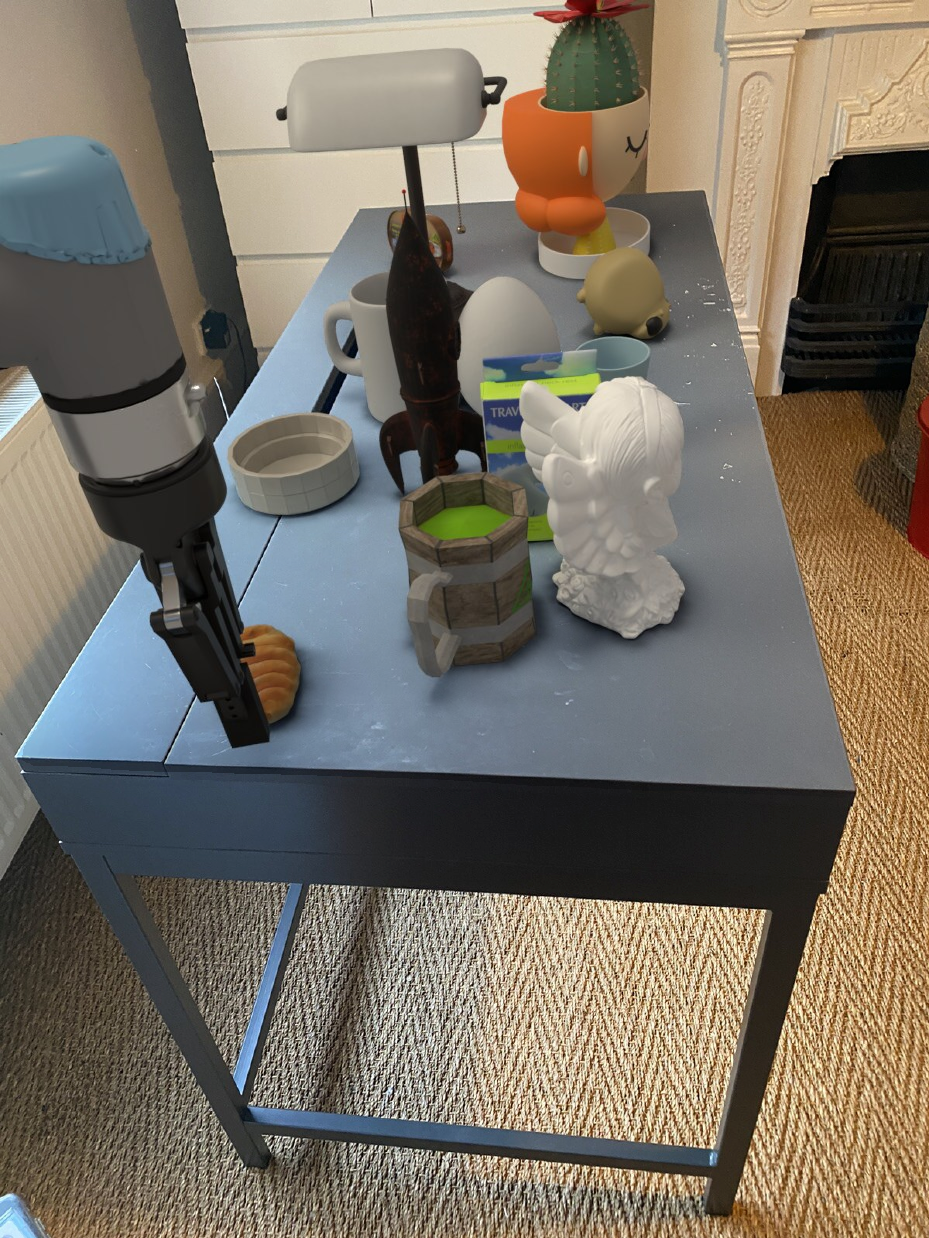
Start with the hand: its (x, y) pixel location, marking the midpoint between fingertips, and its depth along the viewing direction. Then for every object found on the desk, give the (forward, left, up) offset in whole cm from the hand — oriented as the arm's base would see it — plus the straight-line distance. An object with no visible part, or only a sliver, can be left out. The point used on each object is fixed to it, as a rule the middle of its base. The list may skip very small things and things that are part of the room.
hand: (251, 737), depth 67 cm
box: (+27, +25, -5) cm, 37 cm away
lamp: (+21, +77, -4) cm, 80 cm away
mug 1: (+15, +56, -4) cm, 58 cm away
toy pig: (+46, +66, -5) cm, 80 cm away
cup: (+37, +39, -5) cm, 54 cm away
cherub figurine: (+30, +13, -4) cm, 33 cm away
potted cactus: (+47, +96, -4) cm, 107 cm away
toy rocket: (+18, +34, -5) cm, 39 cm away
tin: (+23, +100, -5) cm, 103 cm away
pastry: (0, +10, -5) cm, 11 cm away
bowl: (+3, +41, -4) cm, 41 cm away
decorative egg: (+28, +51, -5) cm, 58 cm away
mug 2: (+17, +11, -5) cm, 21 cm away
